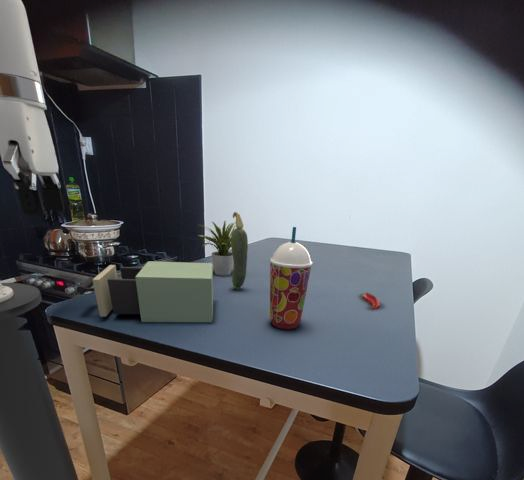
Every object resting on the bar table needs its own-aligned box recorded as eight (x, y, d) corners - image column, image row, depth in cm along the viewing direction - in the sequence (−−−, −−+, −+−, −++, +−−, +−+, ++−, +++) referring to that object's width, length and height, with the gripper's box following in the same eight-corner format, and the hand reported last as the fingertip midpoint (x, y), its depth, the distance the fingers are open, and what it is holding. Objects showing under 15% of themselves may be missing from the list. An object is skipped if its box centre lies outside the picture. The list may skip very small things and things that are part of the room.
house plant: (213, 264, 111) (212, 214, 103) (250, 270, 107) (252, 218, 100) (193, 274, 99) (190, 218, 91) (233, 280, 95) (234, 223, 88)
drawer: (77, 316, 64) (68, 278, 61) (96, 297, 74) (89, 264, 70) (167, 317, 67) (164, 281, 63) (174, 298, 77) (171, 266, 73)
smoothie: (276, 313, 74) (283, 222, 65) (309, 322, 71) (322, 227, 61) (258, 325, 68) (264, 226, 58) (294, 335, 64) (307, 232, 55)
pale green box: (141, 322, 66) (135, 276, 61) (152, 301, 77) (147, 261, 72) (212, 322, 68) (211, 278, 63) (213, 301, 79) (212, 263, 74)
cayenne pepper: (380, 310, 80) (381, 303, 79) (361, 307, 81) (363, 300, 80) (379, 296, 90) (380, 289, 89) (362, 294, 91) (364, 287, 91)
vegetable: (248, 289, 89) (251, 212, 79) (241, 293, 86) (243, 213, 76) (235, 286, 91) (236, 210, 81) (227, 290, 87) (227, 211, 77)
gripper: (21, 102, 58) (46, 207, 67) (-48, 78, 43) (-4, 216, 52) (64, 106, 59) (84, 209, 68) (12, 84, 44) (45, 219, 53)
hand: (45, 211), depth 60 cm, fingers open, 7 cm apart
